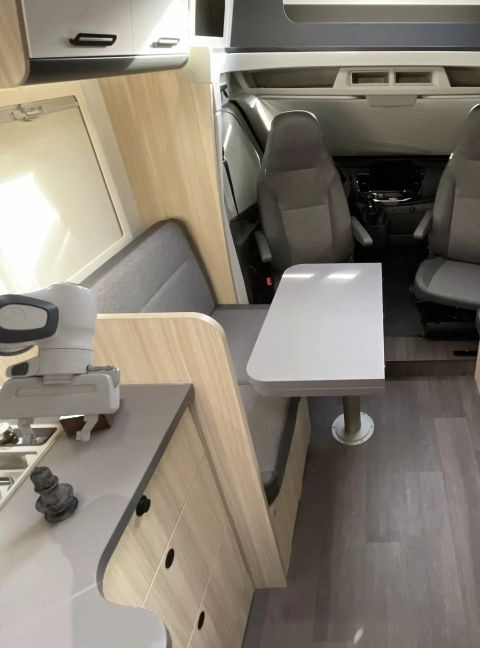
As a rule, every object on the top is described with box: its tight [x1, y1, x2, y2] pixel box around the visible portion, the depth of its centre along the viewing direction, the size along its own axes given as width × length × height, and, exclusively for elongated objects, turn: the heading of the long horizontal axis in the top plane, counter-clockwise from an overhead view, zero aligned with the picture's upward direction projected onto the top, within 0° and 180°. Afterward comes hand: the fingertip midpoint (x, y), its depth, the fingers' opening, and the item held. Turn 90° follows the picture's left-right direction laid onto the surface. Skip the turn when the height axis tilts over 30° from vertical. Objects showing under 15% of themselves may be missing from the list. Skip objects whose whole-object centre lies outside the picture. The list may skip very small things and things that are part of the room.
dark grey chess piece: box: [29, 465, 79, 524], centre depth 79 cm, size 6×6×12 cm
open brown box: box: [58, 398, 122, 436], centre depth 100 cm, size 9×9×5 cm
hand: (55, 442), depth 81 cm, fingers open, 8 cm apart
